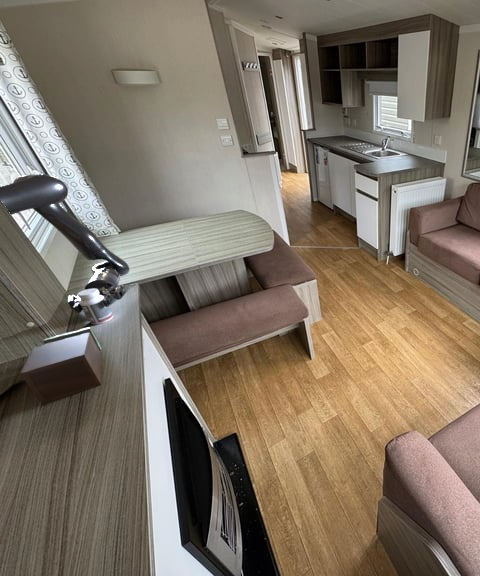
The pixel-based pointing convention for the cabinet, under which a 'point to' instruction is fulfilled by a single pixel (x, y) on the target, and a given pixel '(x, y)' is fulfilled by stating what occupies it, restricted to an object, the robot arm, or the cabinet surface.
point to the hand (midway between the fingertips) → (91, 306)
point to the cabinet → (63, 368)
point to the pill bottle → (94, 306)
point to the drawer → (72, 334)
